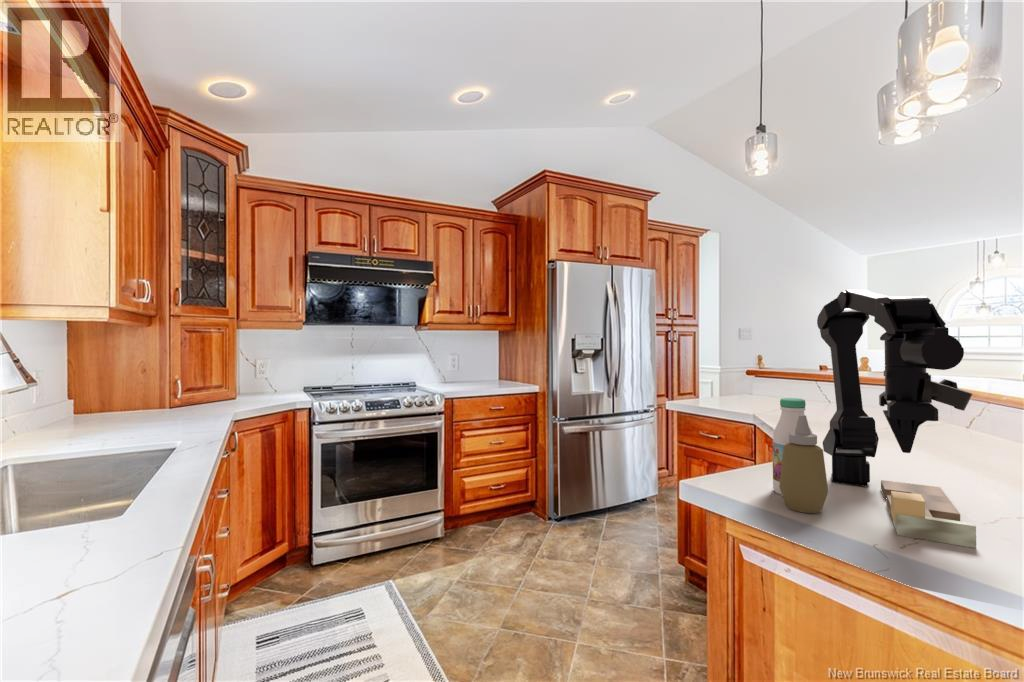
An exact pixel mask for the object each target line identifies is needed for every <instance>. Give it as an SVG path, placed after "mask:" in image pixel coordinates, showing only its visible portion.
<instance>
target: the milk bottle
mask: <svg viewBox="0 0 1024 682" xmlns="http://www.w3.org/2000/svg"><path fill="white" fill-rule="evenodd" d="M779 405H780V410H781V414H780V417H779V420H778V422H777V423H776V426H775V428H774V431H773V436H772V486H773V487H772V489H773V492H775V493H776V494H778V495H780V496H782V493H781V490H780V487H779V485H780V475H781V465H782V456H783V446H784V445H786V444H787V443H790V442H789V433H791V432H795V429H796V425H797V421H798V417H799V415H805V411H806V400H805V399H802V398H797V397H795V398H794V397H787V398H785V397H783V398H780V400H779ZM809 429H810V433H811V434H813V431H812V429H811V428H810V426H809Z"/></svg>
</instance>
